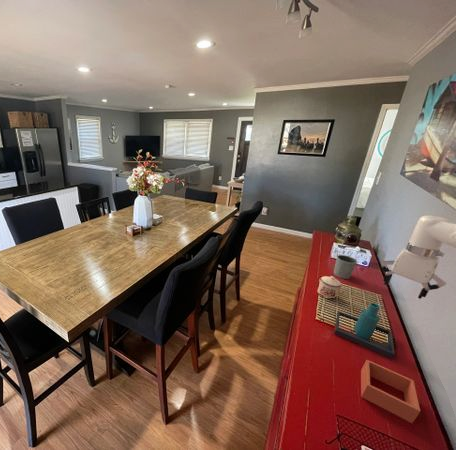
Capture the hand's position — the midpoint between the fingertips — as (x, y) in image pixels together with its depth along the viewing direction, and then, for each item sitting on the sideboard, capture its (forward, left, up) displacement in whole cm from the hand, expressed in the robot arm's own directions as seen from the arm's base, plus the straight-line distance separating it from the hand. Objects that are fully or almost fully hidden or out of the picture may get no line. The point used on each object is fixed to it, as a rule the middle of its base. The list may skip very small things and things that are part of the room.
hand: (402, 290), depth 91 cm
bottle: (+4, -5, -29) cm, 29 cm away
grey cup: (+14, -59, -29) cm, 67 cm away
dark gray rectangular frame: (+4, -5, -29) cm, 30 cm away
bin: (-2, +24, -29) cm, 38 cm away
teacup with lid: (+18, -29, -29) cm, 45 cm away
